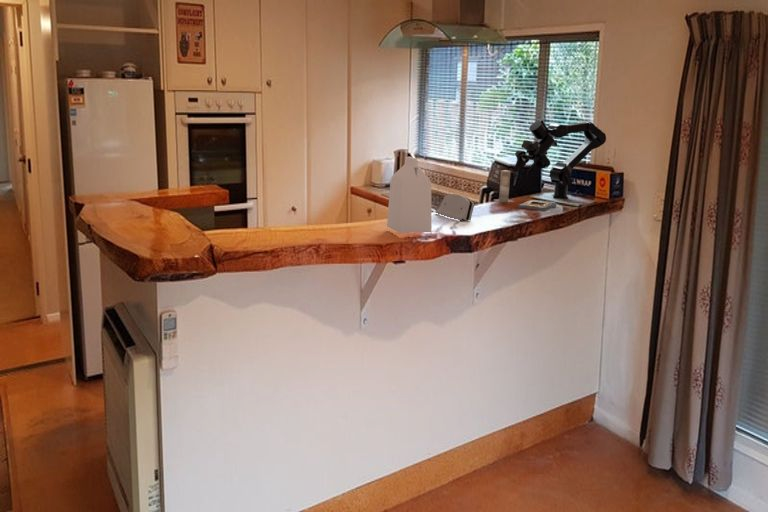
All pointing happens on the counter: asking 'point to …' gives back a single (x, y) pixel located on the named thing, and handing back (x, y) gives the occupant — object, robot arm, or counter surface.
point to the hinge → (456, 207)
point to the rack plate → (537, 205)
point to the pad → (504, 201)
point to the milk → (410, 199)
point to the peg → (504, 185)
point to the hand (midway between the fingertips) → (520, 172)
